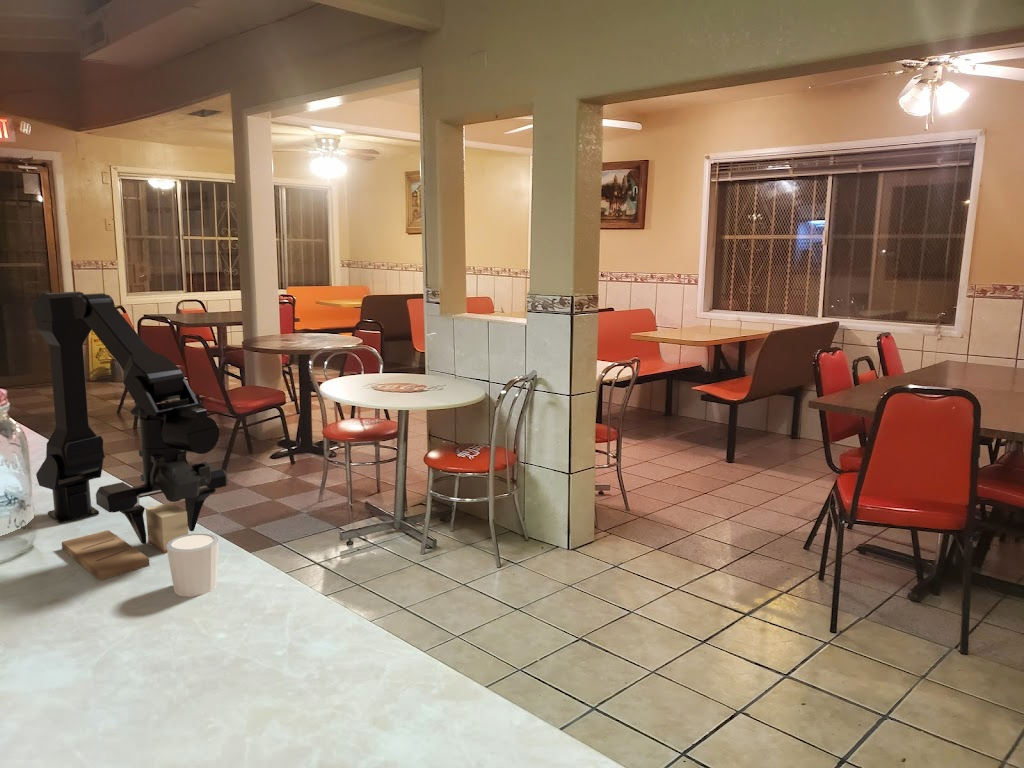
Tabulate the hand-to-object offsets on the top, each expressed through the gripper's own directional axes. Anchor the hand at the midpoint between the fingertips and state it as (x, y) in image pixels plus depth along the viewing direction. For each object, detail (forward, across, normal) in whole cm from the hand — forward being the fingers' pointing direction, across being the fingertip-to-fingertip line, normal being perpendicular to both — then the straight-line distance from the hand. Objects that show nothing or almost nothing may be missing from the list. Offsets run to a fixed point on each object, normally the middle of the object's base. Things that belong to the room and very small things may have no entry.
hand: (168, 537), depth 122 cm
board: (+1, -9, +2) cm, 9 cm away
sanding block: (+1, 0, 0) cm, 1 cm away
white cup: (+2, -4, -18) cm, 18 cm away
